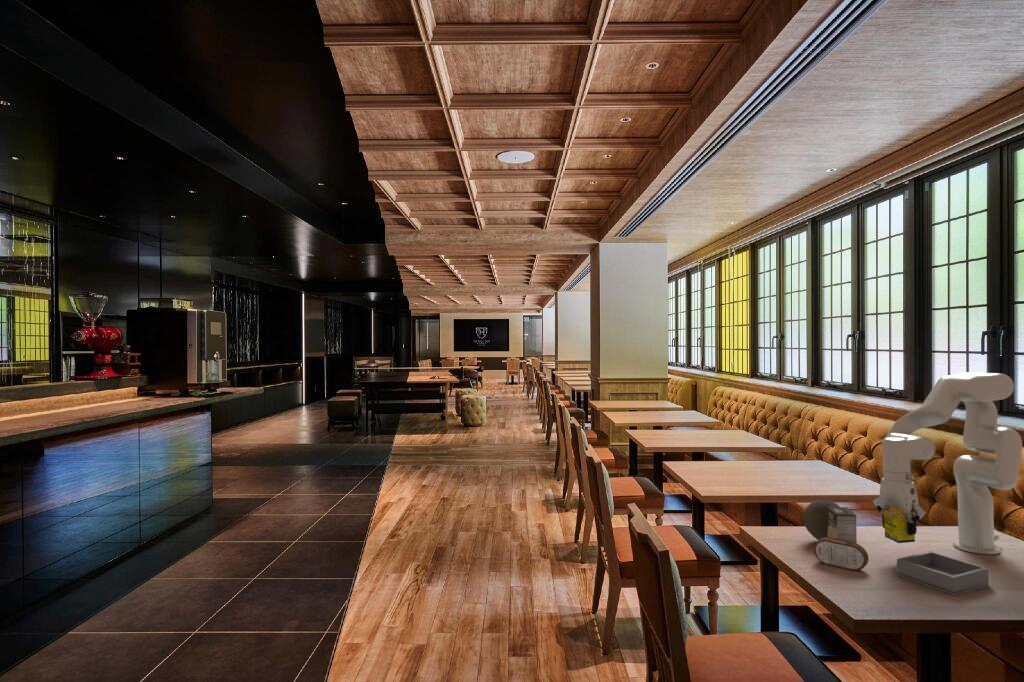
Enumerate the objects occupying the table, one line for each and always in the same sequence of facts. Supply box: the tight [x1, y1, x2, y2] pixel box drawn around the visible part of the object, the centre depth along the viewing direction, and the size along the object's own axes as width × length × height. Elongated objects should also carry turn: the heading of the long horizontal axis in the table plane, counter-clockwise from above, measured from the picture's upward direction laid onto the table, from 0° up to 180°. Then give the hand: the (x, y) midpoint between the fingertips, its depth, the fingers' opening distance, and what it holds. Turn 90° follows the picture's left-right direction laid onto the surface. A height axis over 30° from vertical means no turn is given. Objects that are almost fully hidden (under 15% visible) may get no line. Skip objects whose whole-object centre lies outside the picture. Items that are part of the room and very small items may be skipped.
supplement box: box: [884, 505, 916, 544], centre depth 190 cm, size 6×6×11 cm
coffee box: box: [827, 506, 858, 544], centre depth 192 cm, size 9×6×16 cm
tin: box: [813, 537, 869, 572], centre depth 186 cm, size 15×3×8 cm, turn 47°
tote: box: [896, 550, 990, 596], centre depth 174 cm, size 16×16×5 cm
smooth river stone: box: [802, 499, 841, 541], centre depth 208 cm, size 14×14×15 cm
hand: (899, 530), depth 190 cm, fingers closed on supplement box, 7 cm apart
